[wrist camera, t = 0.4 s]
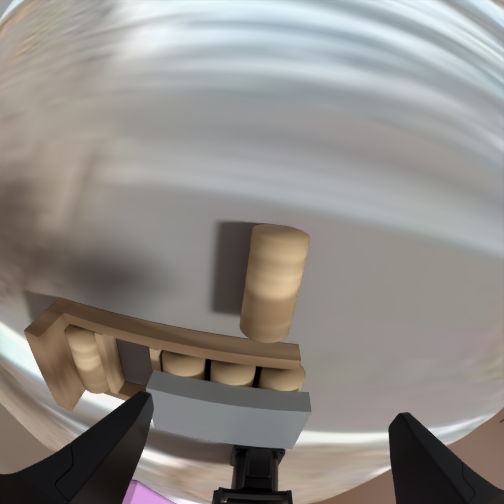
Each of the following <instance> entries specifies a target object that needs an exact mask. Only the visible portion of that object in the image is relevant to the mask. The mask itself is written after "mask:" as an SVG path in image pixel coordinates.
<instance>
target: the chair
mask: <svg viewBox="0 0 504 504" xmlns="http://www.w3.org/2000/svg"><path fill="white" fill-rule="evenodd" d="M122 504H176V503H174V502H172V501H170V500H168V499H167V498H165V497H163V496H162V495H160V494H158V493H157V492H155V491H153V490H152V489H150V488H148V487H147V486H145V485H144V484H142V483H141V482H139V481H135V480H131V482H130V485H129V487H128V490H127V492H126V495H125V497H124V500H123V503H122Z"/></svg>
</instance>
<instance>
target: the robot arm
mask: <svg viewBox="0 0 504 504" xmlns="http://www.w3.org/2000/svg"><path fill="white" fill-rule="evenodd" d="M153 412H154V404H153V399H152V394H151V393H149V392H146V391H142V390H140V391H138V392H137V393H136V394H134V395H133V396H132V397H130V398H129V399H128V400H127V401H125V402H124V403H123V404H121V405H120V406H119V407H117V408H116V409H115V410H114V411H112V412H111V413H110V414H108V415H107V416H106V417H104V418H103V419H102V420H100V421H99V422H98V423H96V424H95V425H94V426H92V427H91V428H90V429H88V430H87V431H86V432H84V433H83V434H81V435H80V436H79V437H77V438H76V439H75V440H73V441H72V442H71V443H69V444H67V445H66V446H65V447H63V448H62V449H60V450H59V451H57V452H56V453H54V454H53V455H51V456H49V457H47V458H45V459H43V460H42V461H40V462H37V463H35V464H33V465H31V466H29V467H27V468H25V469H23V470H21V471H18V472H15V473H12V474H0V504H122V503H123V500H124V497H125V495H126V492H127V490H128V487H129V485H130V482H131V479H132V477H133V474H134V472H135V469H136V467H137V464H138V462H139V459H140V457H141V454H142V452H143V449H144V446H145V443H146V439H147V435H148V431H149V427H150V423H151V419H152V416H153ZM388 431H389V445H390V460H391V468H392V474H393V481H394V488H395V496H396V504H504V490H501V489H499V488H497V487H495V486H494V485H492V484H491V483H489V482H488V481H487V480H485V479H484V478H482V477H481V476H480V475H478V474H477V473H476V472H474V471H473V470H472V469H471V468H470V467H468V466H467V465H466V464H465V463H464V462H462V460H461V459H459V458H458V457H457V456H456V455H455V454H454V453H453V452H452V451H451V450H449V449H448V448H447V447H446V446H445V445H444V444H443V443H442V442H441V441H440V440H438V439H437V438H436V437H435V436H434V435H433V434H432V433H431V432H430V431H429V430H428V429H426V428H425V427H424V426H423V425H422V424H421V423H420V422H419V421H418V420H417V419H416V418H414V417H413V416H412V415H411V414H410V413H408V412H404V413H399V414H398V415H397V416H396V417H395V419H394V420H393V421H392V423H391V424H390V426H389V430H388ZM284 455H285V449H275V448H261V447H250V446H240V445H235V446H234V447H233V452H232V457H231V462H230V465H231V466H234V468H233V477H232V485H231V489H226V488H222V487H219V489H218V490H215V491H214V494H213V500H212V504H293V502H292V492H291V490H287V491H278V465H279V464H280V462H281V460H282V458H283V456H284ZM224 501H227V502H226V503H225V502H224Z"/></svg>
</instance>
